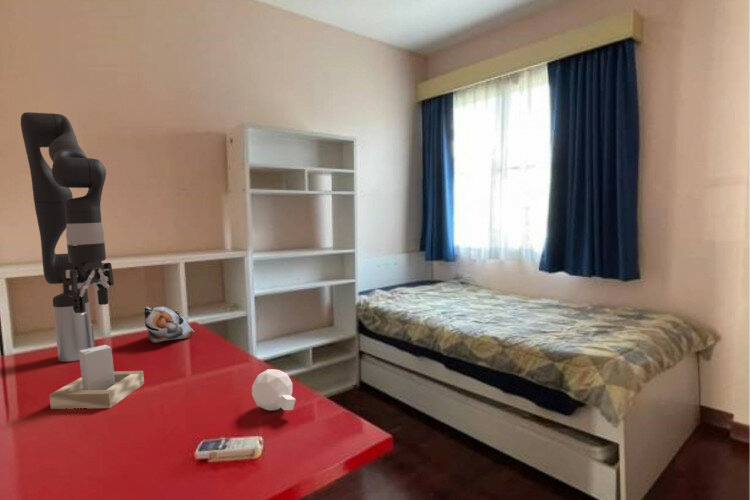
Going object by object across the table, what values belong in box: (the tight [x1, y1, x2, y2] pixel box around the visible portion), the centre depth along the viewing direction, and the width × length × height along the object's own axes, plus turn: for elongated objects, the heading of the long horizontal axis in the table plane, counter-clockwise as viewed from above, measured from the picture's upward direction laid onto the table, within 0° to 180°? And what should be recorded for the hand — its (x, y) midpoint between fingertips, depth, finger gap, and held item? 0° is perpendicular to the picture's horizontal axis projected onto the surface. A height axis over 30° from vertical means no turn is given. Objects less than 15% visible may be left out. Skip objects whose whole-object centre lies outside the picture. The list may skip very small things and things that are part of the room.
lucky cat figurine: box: [143, 305, 195, 344], centre depth 151 cm, size 17×14×16 cm
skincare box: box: [78, 344, 115, 390], centre depth 105 cm, size 6×4×12 cm
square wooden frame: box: [49, 370, 145, 410], centre depth 106 cm, size 14×14×4 cm
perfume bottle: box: [251, 368, 297, 411], centre depth 95 cm, size 9×9×12 cm
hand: (92, 308), depth 104 cm, fingers open, 8 cm apart
